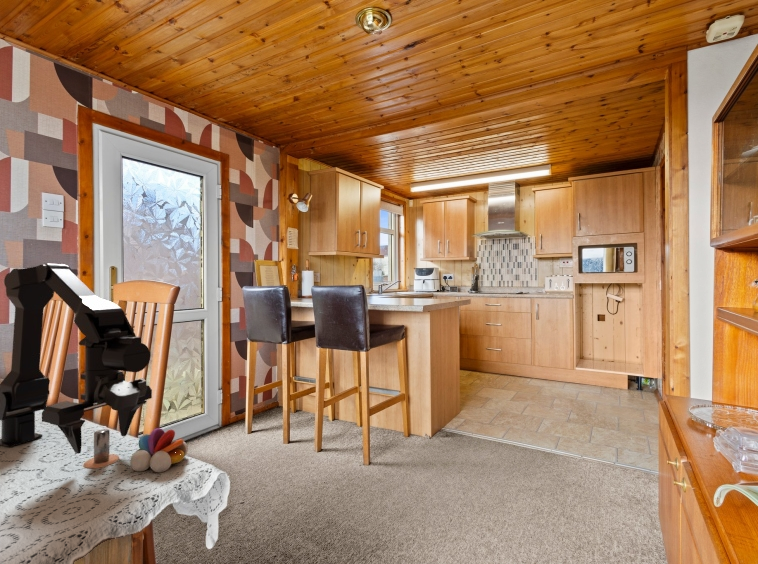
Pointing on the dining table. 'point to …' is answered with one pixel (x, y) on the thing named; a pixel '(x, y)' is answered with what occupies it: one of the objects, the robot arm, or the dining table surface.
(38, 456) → the dining table surface
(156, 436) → the rainbow petal ball
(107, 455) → the steel peg
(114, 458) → the marker disc
